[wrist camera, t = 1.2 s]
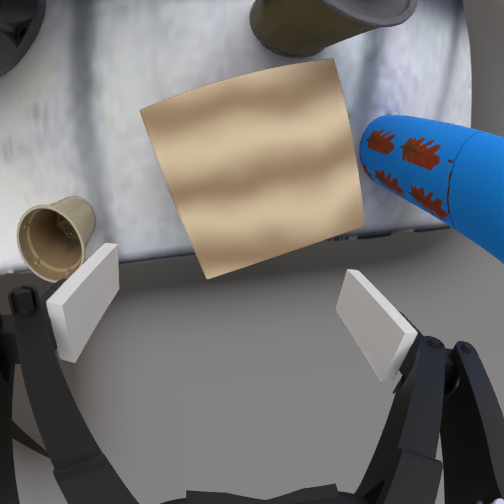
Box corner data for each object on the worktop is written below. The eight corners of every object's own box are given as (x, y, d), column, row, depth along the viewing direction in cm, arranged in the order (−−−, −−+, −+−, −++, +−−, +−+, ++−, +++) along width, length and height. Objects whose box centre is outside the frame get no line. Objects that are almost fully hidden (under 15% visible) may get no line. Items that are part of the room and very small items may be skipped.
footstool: (160, 110, 29) (139, 110, 19) (291, 72, 29) (333, 58, 19) (204, 229, 37) (207, 279, 27) (320, 191, 37) (365, 225, 27)
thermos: (378, 200, 39) (508, 295, 17) (345, 139, 34) (507, 201, 13) (425, 161, 38) (558, 225, 16) (399, 101, 33) (556, 132, 11)
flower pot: (49, 245, 34) (22, 277, 26) (46, 181, 30) (12, 202, 22) (106, 253, 36) (87, 288, 29) (107, 186, 32) (83, 209, 25)
